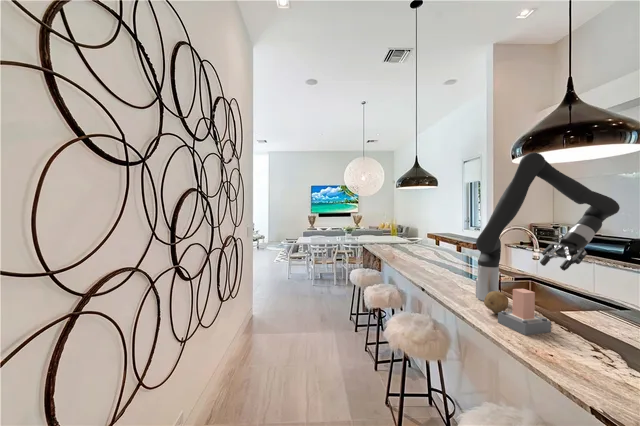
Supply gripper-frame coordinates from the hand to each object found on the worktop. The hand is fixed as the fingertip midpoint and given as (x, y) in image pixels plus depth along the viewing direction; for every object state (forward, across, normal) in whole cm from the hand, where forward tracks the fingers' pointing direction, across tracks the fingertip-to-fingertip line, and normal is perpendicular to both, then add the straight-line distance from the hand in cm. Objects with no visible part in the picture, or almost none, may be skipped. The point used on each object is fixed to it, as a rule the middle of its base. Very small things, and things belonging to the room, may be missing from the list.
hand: (551, 266), depth 115 cm
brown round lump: (+26, -12, +7) cm, 30 cm away
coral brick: (+23, +1, +4) cm, 23 cm away
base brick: (+26, +2, +7) cm, 27 cm away
